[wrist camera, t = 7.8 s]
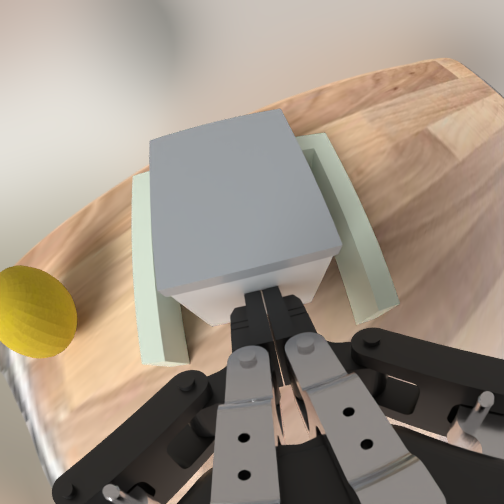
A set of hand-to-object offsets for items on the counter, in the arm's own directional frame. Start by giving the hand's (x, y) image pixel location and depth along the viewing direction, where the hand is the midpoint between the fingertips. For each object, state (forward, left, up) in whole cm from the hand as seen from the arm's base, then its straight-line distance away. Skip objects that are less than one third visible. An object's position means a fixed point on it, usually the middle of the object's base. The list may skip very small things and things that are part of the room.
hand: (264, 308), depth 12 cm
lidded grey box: (0, -4, -4) cm, 6 cm away
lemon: (+14, -2, -4) cm, 15 cm away
